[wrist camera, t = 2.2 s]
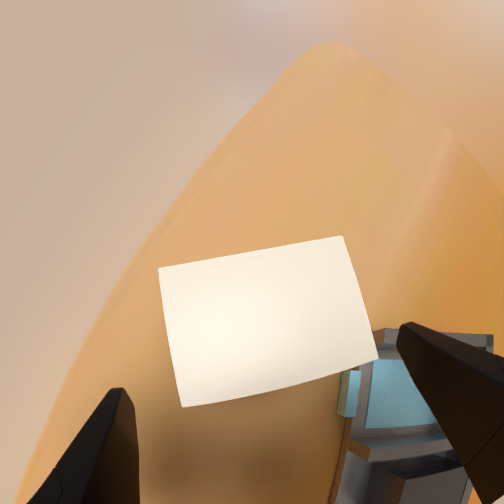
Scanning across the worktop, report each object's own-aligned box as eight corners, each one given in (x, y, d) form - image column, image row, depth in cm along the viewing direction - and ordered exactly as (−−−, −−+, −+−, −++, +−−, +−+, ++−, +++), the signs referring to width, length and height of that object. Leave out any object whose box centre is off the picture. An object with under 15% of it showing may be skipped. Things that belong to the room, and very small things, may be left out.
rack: (407, 565, 11) (437, 588, 6) (293, 585, 10) (308, 622, 6) (457, 343, 18) (503, 331, 14) (345, 336, 18) (382, 323, 13)
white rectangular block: (293, 366, 17) (378, 358, 7) (210, 384, 16) (182, 407, 6) (279, 311, 18) (341, 235, 8) (198, 327, 18) (157, 268, 7)
